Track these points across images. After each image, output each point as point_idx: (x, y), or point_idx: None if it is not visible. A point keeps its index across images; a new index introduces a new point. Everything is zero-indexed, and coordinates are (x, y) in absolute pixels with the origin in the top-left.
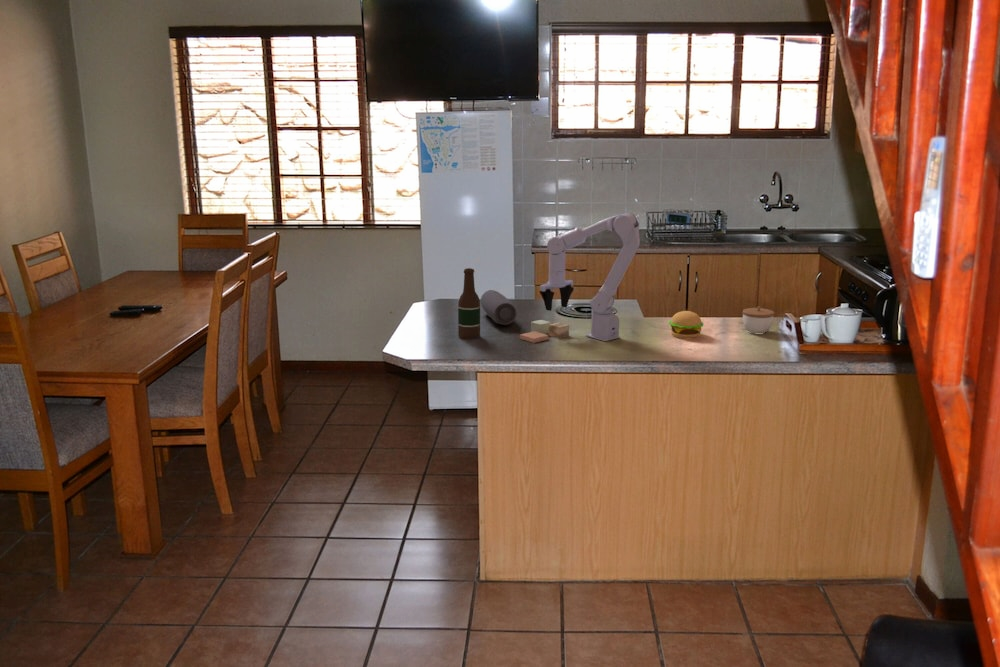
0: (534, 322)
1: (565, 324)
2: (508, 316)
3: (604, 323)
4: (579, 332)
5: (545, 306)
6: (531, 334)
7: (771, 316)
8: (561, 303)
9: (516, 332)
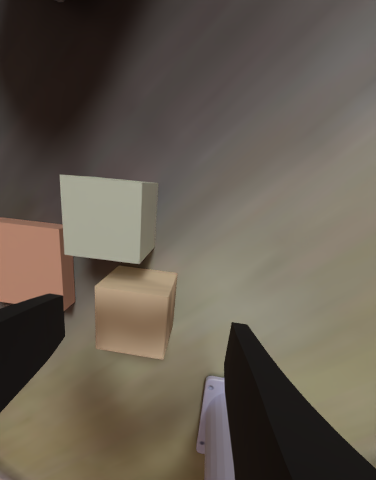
0: (66, 200)
1: (158, 343)
2: None
3: None
4: None
5: (21, 305)
6: (15, 254)
7: None
8: (236, 339)
9: (41, 126)
